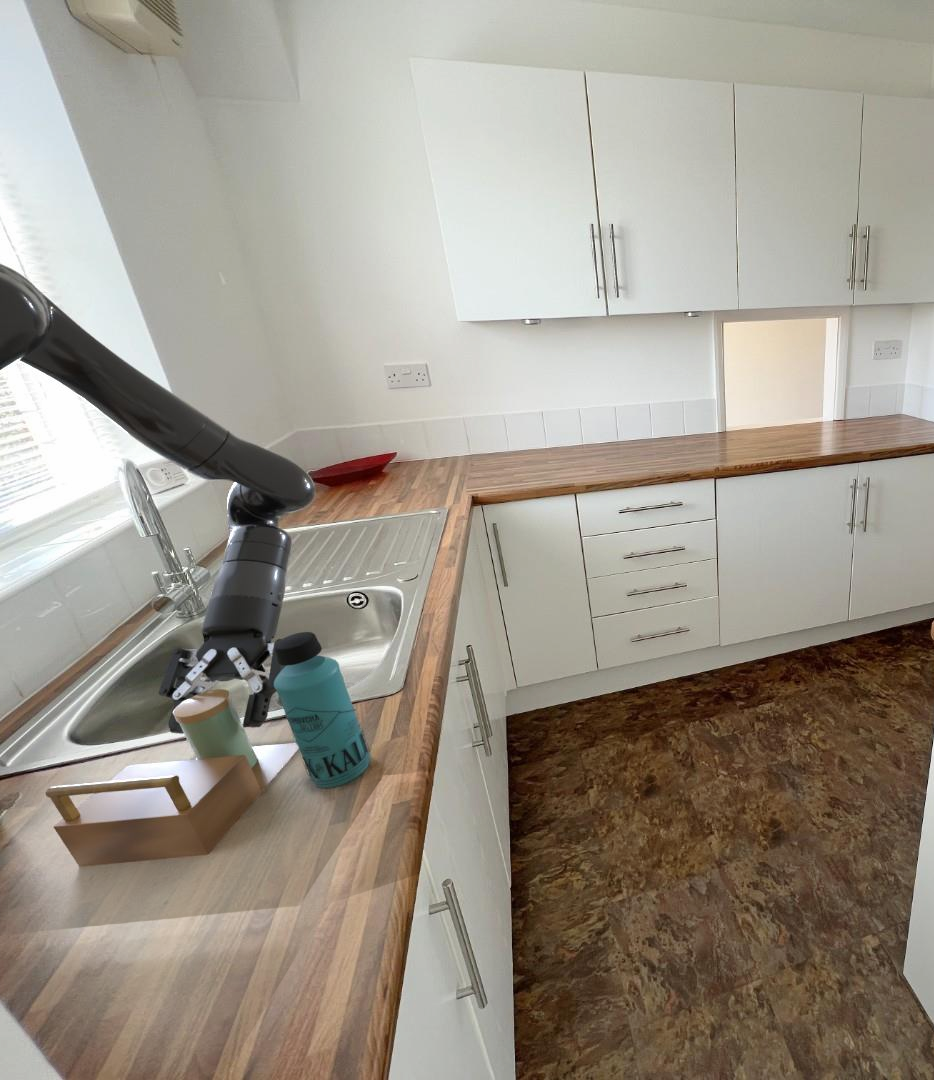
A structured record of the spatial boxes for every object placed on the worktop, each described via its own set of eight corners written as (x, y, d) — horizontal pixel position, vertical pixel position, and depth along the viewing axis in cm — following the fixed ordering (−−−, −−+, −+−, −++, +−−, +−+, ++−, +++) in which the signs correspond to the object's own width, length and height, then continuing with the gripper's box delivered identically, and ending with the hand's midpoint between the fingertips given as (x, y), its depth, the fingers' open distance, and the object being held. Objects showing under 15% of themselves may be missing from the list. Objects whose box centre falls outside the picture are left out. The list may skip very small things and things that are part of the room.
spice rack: (85, 876, 61) (32, 796, 57) (208, 759, 76) (173, 690, 72) (213, 864, 61) (170, 783, 57) (309, 750, 77) (280, 681, 73)
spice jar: (195, 786, 70) (160, 718, 66) (226, 755, 75) (195, 690, 71) (239, 782, 70) (207, 714, 66) (268, 751, 75) (239, 687, 71)
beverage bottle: (322, 769, 73) (267, 632, 66) (380, 753, 76) (333, 618, 68) (308, 807, 68) (246, 661, 60) (372, 789, 70) (319, 646, 62)
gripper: (166, 597, 73) (126, 732, 67) (282, 588, 74) (253, 721, 67) (214, 614, 80) (181, 738, 74) (320, 605, 81) (296, 727, 74)
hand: (216, 729), depth 70 cm, fingers open, 8 cm apart
